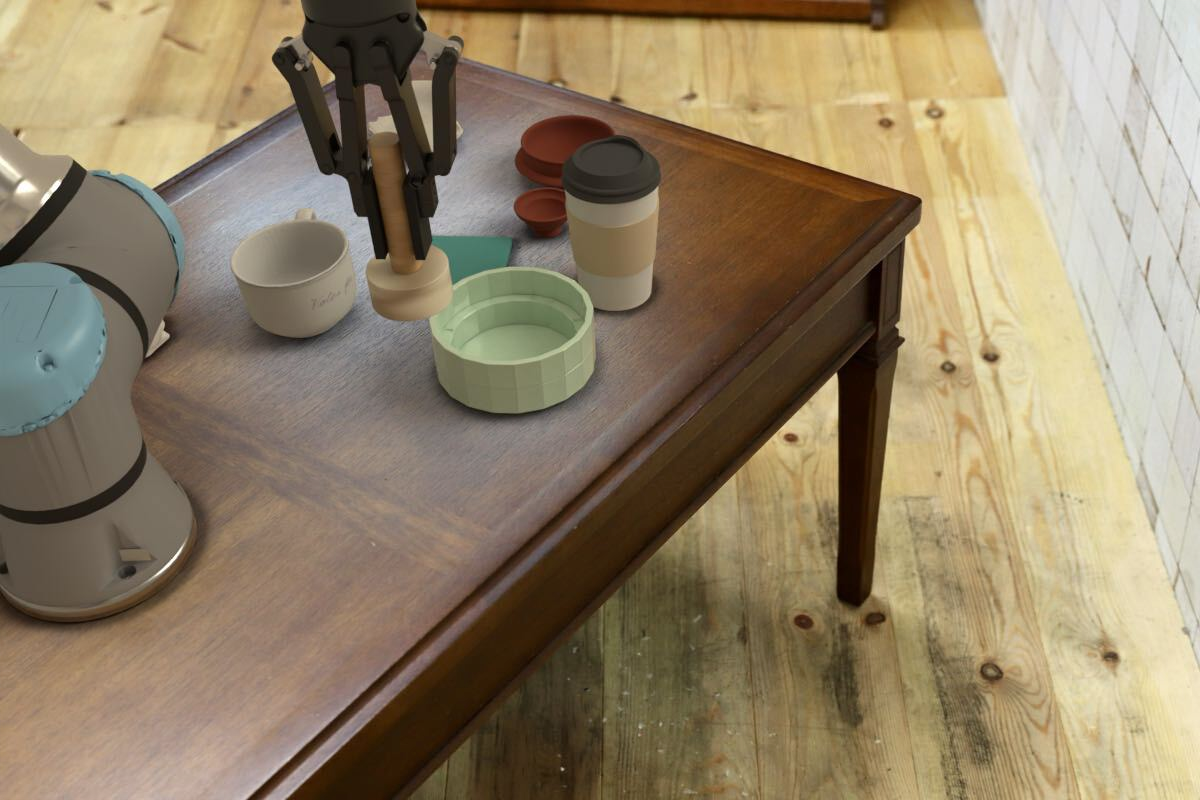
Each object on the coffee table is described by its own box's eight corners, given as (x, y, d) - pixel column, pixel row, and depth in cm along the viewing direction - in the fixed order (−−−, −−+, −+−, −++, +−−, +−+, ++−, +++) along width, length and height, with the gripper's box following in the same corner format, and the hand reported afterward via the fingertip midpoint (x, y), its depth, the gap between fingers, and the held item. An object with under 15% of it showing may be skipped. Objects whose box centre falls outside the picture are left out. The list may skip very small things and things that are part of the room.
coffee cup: (639, 327, 128) (636, 187, 118) (552, 305, 131) (541, 168, 121) (677, 274, 134) (676, 138, 124) (592, 255, 137) (585, 120, 127)
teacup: (339, 359, 126) (324, 287, 121) (228, 347, 128) (209, 277, 122) (387, 272, 136) (375, 202, 131) (284, 262, 138) (268, 194, 133)
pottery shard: (377, 176, 150) (370, 135, 147) (361, 129, 158) (354, 89, 155) (470, 158, 152) (465, 117, 149) (449, 113, 160) (444, 73, 157)
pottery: (633, 150, 152) (632, 114, 149) (596, 251, 137) (594, 214, 134) (530, 143, 154) (528, 107, 151) (483, 242, 139) (479, 205, 137)
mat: (396, 298, 133) (395, 293, 132) (415, 240, 140) (415, 235, 140) (499, 300, 132) (498, 295, 131) (513, 241, 139) (512, 236, 139)
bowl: (424, 416, 119) (415, 362, 115) (451, 317, 130) (444, 265, 126) (587, 421, 118) (584, 366, 114) (601, 320, 129) (599, 267, 125)
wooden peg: (362, 321, 106) (328, 162, 97) (382, 272, 111) (351, 117, 102) (444, 323, 105) (417, 162, 96) (460, 274, 110) (436, 117, 101)
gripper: (217, -26, 88) (292, 276, 103) (453, -28, 86) (495, 280, 101) (253, -71, 94) (319, 221, 109) (476, -75, 92) (512, 223, 107)
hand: (404, 249), depth 105 cm, fingers closed on wooden peg, 2 cm apart
